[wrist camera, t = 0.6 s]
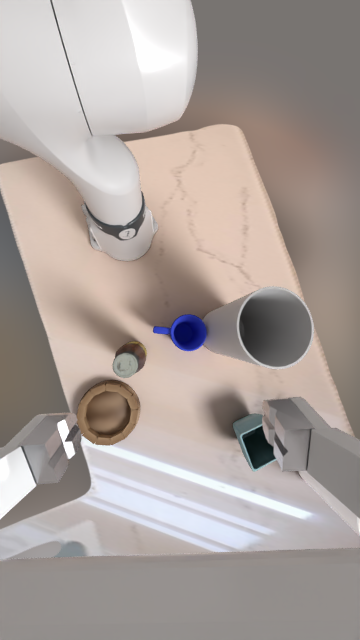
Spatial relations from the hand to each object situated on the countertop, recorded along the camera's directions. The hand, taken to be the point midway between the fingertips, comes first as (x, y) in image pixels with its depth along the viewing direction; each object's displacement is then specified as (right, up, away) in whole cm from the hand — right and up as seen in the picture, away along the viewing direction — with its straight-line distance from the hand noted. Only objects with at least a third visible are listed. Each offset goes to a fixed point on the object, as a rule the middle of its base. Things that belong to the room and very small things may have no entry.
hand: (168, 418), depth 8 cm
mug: (-1, +1, +44) cm, 44 cm away
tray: (-17, -19, +40) cm, 47 cm away
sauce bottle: (-11, -5, +42) cm, 43 cm away
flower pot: (+18, -25, +44) cm, 54 cm away
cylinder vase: (+12, +1, +45) cm, 47 cm away
